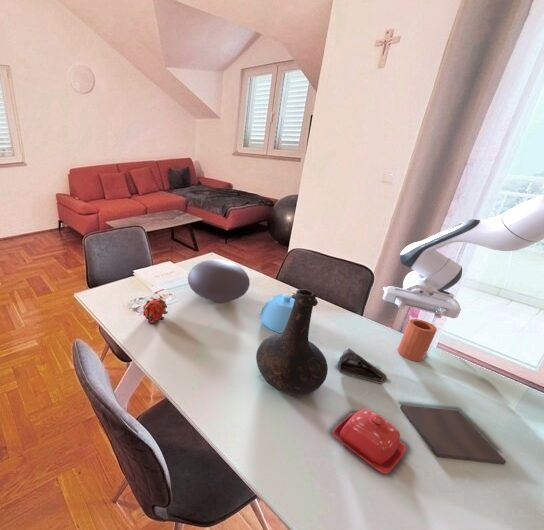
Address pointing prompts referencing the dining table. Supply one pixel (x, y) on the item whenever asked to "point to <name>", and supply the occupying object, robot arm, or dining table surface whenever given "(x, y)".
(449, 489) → the dining table surface
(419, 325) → the pot
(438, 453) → the plate
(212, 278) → the smooth stone
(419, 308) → the robot arm
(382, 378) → the chocolate cake
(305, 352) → the glass bottle
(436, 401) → the dining table surface
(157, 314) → the dragon fruit
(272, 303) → the sugar bowl
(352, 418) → the butter dish
